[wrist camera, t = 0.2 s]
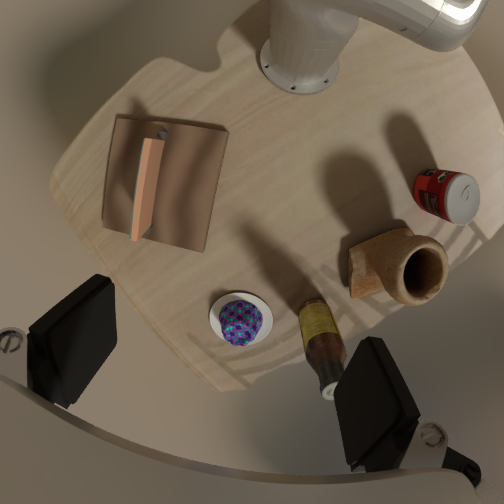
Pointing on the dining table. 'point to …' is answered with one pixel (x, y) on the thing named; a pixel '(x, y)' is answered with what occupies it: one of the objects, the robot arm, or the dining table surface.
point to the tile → (146, 187)
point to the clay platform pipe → (398, 267)
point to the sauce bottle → (322, 344)
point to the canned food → (447, 195)
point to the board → (166, 180)
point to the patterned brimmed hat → (241, 319)
